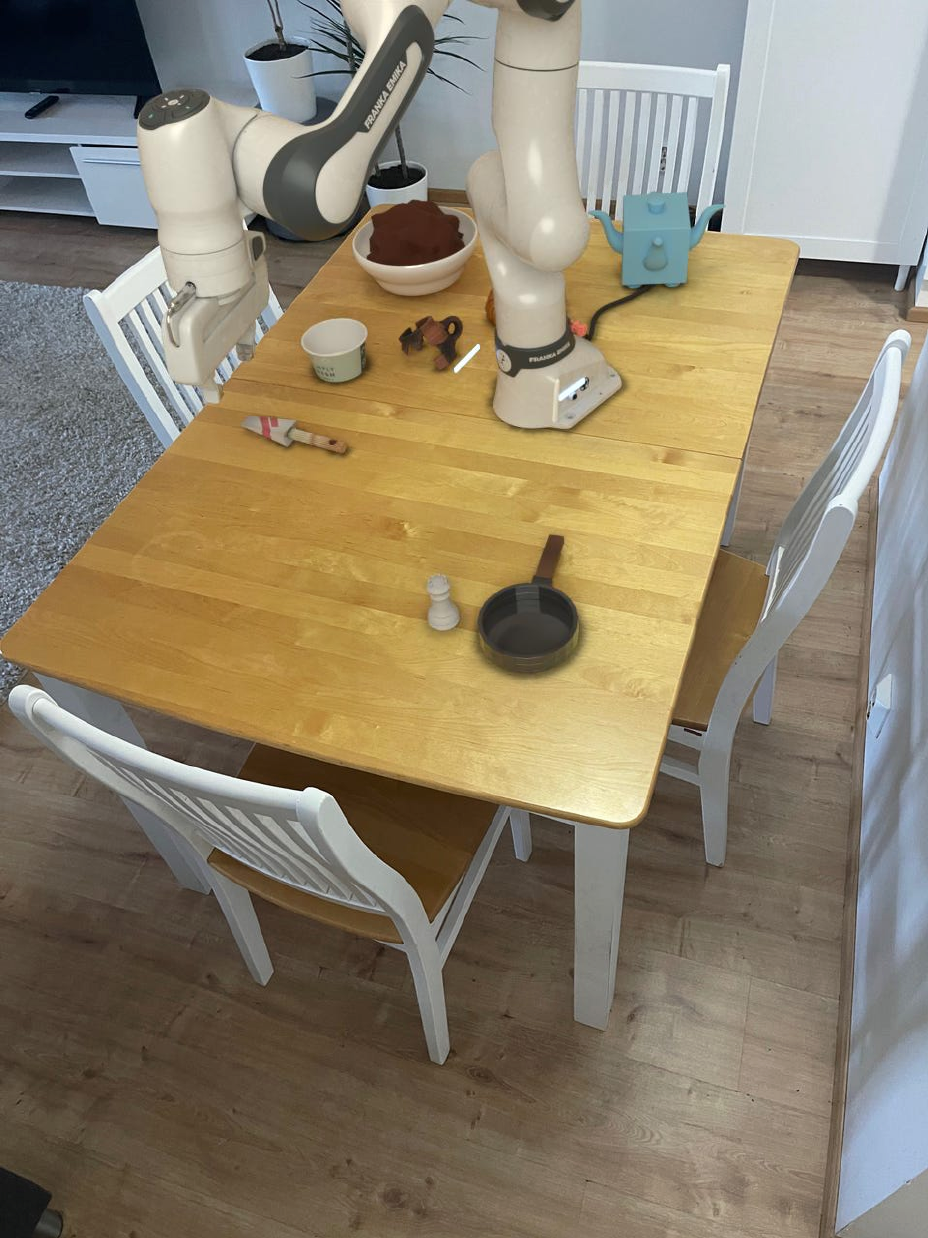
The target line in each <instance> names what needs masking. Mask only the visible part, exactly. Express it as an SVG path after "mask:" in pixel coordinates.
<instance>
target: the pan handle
mask: <svg viewBox="0 0 928 1238" xmlns="http://www.w3.org/2000/svg"><path fill="white" fill-rule="evenodd" d="M564 546H565V535H559V534H552V533H549V534H548V536H547V540H546V542H545V545H544V548H543V551H542V553H541V557H540V560H539V562H538V565H537V568H536V571H535V574H533V576H532V578H531V582H530V583H541V584H545V585H549V586H551V587H553V586H552V585H553V579H554V575H555V573H556V570H557V566H558V563H559V561H560V557H561V555H562V551H563V549H564Z"/></svg>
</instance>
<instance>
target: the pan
mask: <svg viewBox="0 0 928 1238" xmlns="http://www.w3.org/2000/svg"><path fill="white" fill-rule="evenodd" d="M579 619H580V618H579V613H578V609H577V607H576V605H575V603H574V602H573V600H572V599H571V598H570V597H569V596H568V595H567V594H565V592H564V591H562V590H561V589H560V590H559V589H558V588H556V587H554V586H549V585H545V584H541V583H531V582H522V583H515V584H511V585H509V586H505V587H503V588H501V589H499V590H498V591H496V592H494V593H493V594H492V595H491V596H489V598H487V599H486V601H485V602H484V603H483V605H482V606H481V608H480V609H479V612H478V616H477V629H478V637H479V644H480V647H481V649H482V651H483V653H484V655H485V656H486V657H487V658H488V660H489V661H491V662H492V664H494V665H496V666H497V667H499V668H501V669H503V670H505V671H509V672H512V673H516V674H538V673H543V672H546V671H550V670H552V669H554V668H557V667H558V666H560V665H561V664H563V663H564V662H565V661H566V660H567V659H568V658H570V656H572V654H573V653H574V651H575V649H576V648H577V647H576V646H577V644H578V641H579V633H580V632H579V631H580V629H579V628H580V627H579V626H580V625H579Z"/></svg>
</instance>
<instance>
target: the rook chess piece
mask: <svg viewBox="0 0 928 1238" xmlns="http://www.w3.org/2000/svg"><path fill="white" fill-rule="evenodd" d="M429 577H430V578H428V579H427V582H426V584H425V588H426V591H427V592H428V595H429V598H430V600H431V602H430V603H431V605H429V608H428V610H427V623H428V625H429V626H430V627H431V628H432V629H435V630H437V631H440V632H446V631H449V630H452V629H453V628H455V627H456V626H457V625H458V624H459V622H460V620H461V615H460V611H459V608H458V607H457V604H455V603H454V602H453V601H452V600H451V598H450V594H451V590H450V588H451V581H450V580H449V579H448V578H447V576H446V575H445V574H443V575H442V574H441V573H436V575H434V574H432V575H430V576H429Z"/></svg>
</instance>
